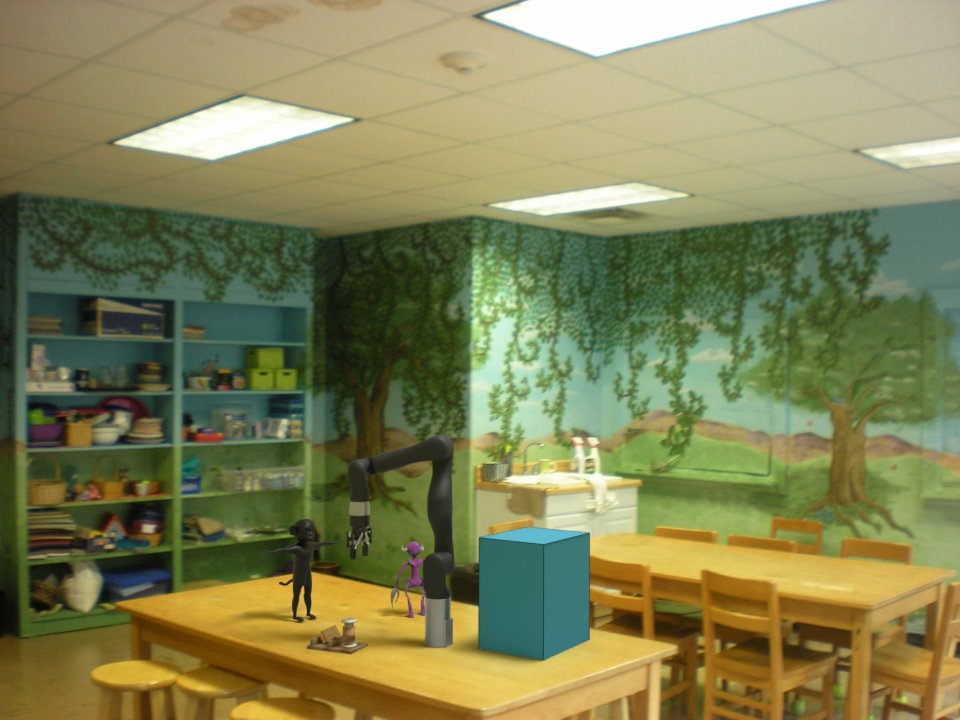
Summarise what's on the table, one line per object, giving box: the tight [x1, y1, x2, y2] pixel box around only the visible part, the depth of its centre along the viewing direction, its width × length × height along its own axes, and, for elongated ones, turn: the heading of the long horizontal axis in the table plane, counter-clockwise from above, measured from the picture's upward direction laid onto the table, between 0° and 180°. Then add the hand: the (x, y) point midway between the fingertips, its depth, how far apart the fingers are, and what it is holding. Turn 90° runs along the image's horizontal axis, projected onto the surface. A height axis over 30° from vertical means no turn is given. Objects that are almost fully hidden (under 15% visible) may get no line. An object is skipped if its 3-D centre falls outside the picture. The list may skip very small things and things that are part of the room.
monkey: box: [261, 518, 341, 623], centre depth 396 cm, size 40×20×40 cm, turn 140°
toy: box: [390, 541, 425, 619], centre depth 400 cm, size 19×9×30 cm, turn 130°
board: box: [306, 617, 369, 655], centre depth 349 cm, size 18×12×10 cm, turn 66°
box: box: [477, 526, 591, 662], centre depth 353 cm, size 27×33×40 cm
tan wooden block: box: [318, 624, 341, 644], centre depth 351 cm, size 4×4×6 cm
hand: (359, 557), depth 361 cm, fingers open, 8 cm apart
